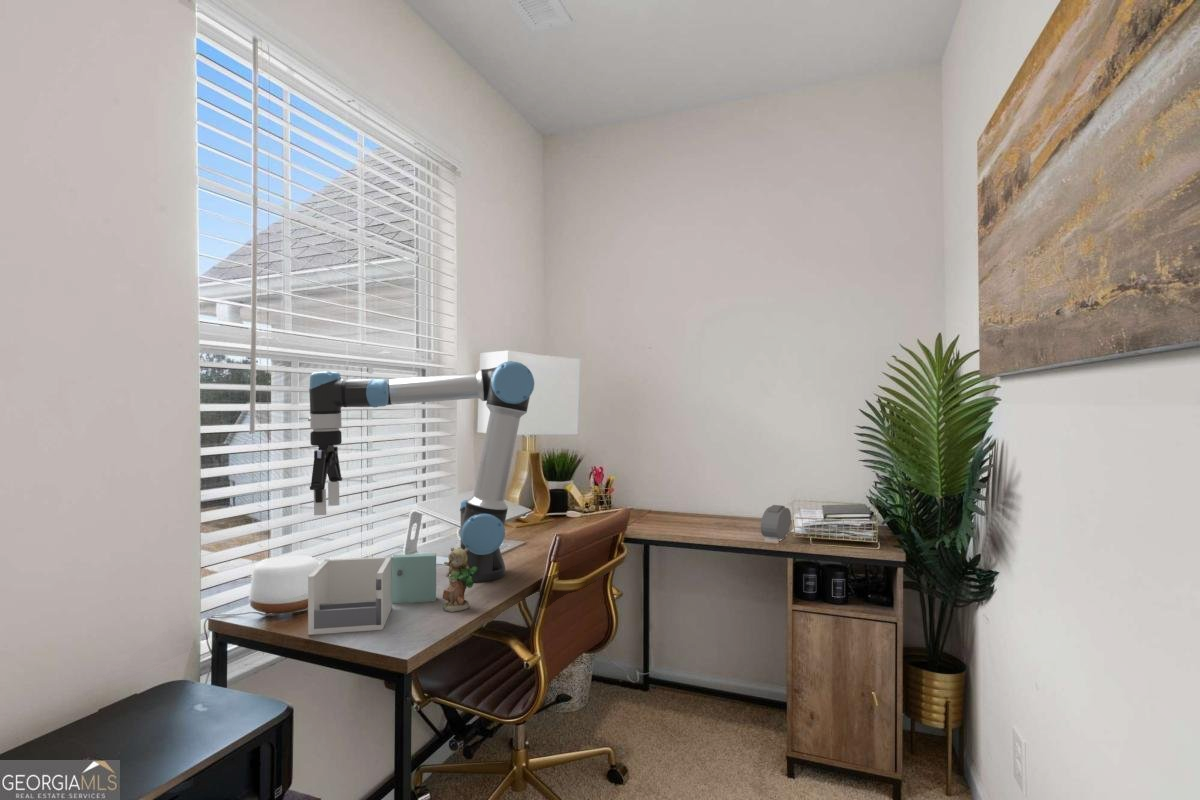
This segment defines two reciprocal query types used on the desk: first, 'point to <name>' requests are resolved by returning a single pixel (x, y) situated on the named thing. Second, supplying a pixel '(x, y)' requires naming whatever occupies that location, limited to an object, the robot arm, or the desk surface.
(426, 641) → the desk surface
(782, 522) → the alarm clock
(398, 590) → the door
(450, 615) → the desk surface
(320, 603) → the cabinet
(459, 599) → the figurine
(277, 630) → the desk surface
